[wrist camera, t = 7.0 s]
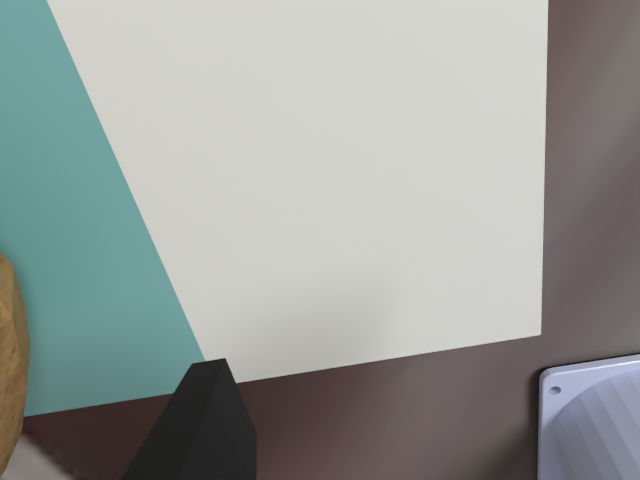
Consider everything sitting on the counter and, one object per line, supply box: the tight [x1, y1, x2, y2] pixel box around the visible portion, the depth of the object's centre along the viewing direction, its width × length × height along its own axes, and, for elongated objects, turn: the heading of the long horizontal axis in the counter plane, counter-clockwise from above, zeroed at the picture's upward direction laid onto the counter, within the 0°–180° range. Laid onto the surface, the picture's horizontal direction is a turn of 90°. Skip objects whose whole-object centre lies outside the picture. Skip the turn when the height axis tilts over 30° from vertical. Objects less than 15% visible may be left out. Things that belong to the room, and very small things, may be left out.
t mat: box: [0, 0, 548, 417], centre depth 17 cm, size 22×32×1 cm
